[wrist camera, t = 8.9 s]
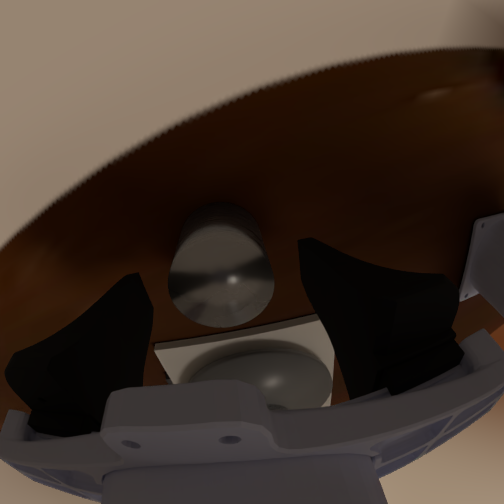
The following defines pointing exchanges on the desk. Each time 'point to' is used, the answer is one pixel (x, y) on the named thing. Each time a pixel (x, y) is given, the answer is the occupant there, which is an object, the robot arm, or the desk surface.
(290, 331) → the scale base
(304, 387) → the scale pan
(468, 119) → the desk surface
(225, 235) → the cylinder
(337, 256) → the robot arm
